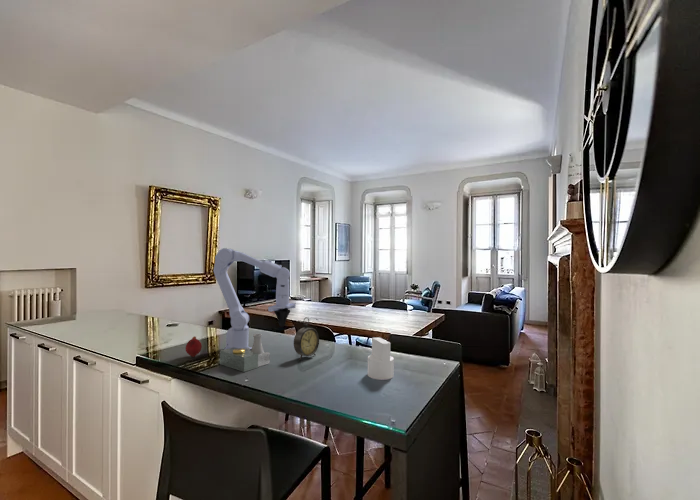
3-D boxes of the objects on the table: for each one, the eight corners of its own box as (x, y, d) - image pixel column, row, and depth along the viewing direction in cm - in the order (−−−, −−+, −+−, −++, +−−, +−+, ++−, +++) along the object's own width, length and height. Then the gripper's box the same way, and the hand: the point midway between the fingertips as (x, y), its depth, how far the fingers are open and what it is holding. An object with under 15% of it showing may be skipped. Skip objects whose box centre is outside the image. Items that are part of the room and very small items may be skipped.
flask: (269, 358, 135) (269, 333, 135) (262, 364, 127) (262, 337, 128) (251, 357, 136) (252, 332, 136) (243, 362, 128) (244, 336, 129)
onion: (197, 359, 131) (197, 338, 132) (182, 358, 132) (183, 338, 132) (203, 354, 137) (204, 335, 137) (189, 354, 137) (190, 334, 138)
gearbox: (219, 364, 126) (220, 348, 126) (246, 356, 136) (246, 342, 136) (244, 371, 118) (244, 355, 118) (270, 363, 128) (270, 348, 128)
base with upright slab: (363, 372, 120) (364, 338, 121) (386, 369, 124) (386, 336, 124) (374, 381, 112) (374, 344, 112) (398, 378, 115) (398, 342, 116)
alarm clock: (300, 362, 130) (301, 319, 131) (290, 359, 134) (291, 318, 134) (319, 356, 139) (320, 316, 140) (310, 353, 142) (311, 314, 143)
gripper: (276, 297, 141) (275, 330, 141) (300, 294, 153) (300, 324, 153) (265, 295, 145) (264, 327, 145) (289, 293, 157) (288, 322, 157)
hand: (281, 326), depth 149 cm, fingers closed
